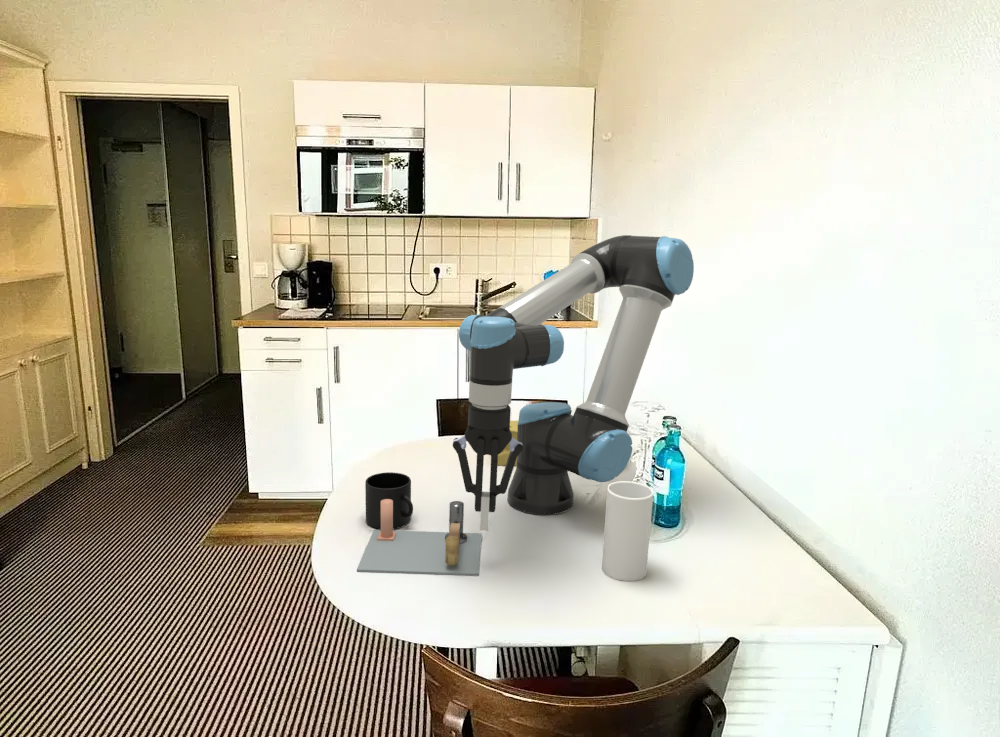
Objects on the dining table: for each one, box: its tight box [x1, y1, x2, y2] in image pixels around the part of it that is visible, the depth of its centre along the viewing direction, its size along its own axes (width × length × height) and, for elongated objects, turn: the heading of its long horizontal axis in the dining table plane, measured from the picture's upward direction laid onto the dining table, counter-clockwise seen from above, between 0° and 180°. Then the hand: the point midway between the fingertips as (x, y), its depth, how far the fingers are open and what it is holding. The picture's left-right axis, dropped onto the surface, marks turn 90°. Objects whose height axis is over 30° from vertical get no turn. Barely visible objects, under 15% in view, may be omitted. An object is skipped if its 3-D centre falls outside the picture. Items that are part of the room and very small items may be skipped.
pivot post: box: [445, 500, 467, 544], centre depth 132 cm, size 4×4×8 cm
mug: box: [364, 471, 414, 530], centre depth 139 cm, size 9×12×9 cm
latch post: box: [377, 499, 396, 541], centre depth 132 cm, size 3×3×8 cm
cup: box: [601, 480, 654, 582], centre depth 122 cm, size 8×8×16 cm
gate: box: [445, 523, 460, 565], centre depth 125 cm, size 10×2×4 cm, turn 0°
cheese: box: [497, 420, 519, 467], centre depth 179 cm, size 10×11×10 cm
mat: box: [356, 529, 482, 577], centre depth 128 cm, size 22×16×1 cm
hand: (484, 527), depth 123 cm, fingers closed
